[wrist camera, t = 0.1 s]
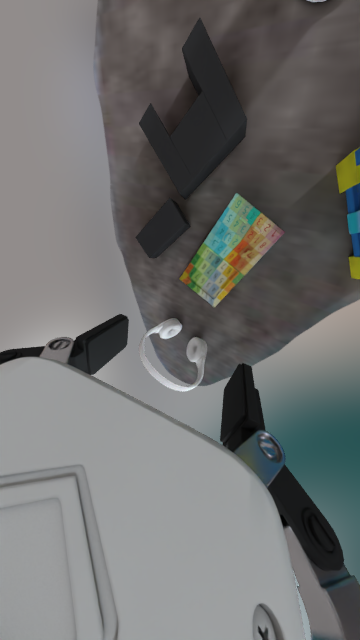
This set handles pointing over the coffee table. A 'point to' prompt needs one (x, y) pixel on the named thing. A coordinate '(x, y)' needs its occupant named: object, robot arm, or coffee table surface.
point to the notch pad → (199, 119)
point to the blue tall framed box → (352, 203)
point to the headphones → (194, 352)
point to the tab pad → (162, 229)
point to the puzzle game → (230, 250)
